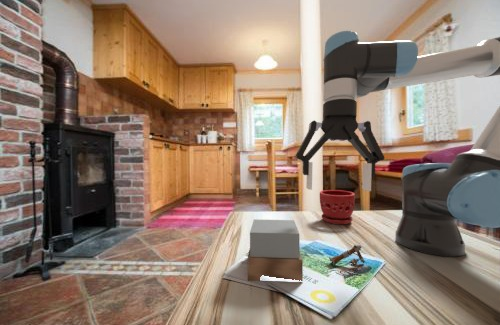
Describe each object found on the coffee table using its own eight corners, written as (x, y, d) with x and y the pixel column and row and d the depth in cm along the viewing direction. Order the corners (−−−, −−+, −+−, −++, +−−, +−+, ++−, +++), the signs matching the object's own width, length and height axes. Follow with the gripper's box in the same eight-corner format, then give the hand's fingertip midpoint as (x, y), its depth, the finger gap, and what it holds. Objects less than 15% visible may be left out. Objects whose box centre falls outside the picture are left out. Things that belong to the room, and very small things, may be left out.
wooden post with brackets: (369, 261, 49) (362, 244, 49) (339, 277, 49) (331, 259, 49) (365, 258, 51) (357, 241, 51) (335, 273, 50) (328, 256, 50)
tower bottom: (295, 259, 53) (295, 239, 53) (302, 284, 42) (302, 259, 42) (252, 257, 54) (251, 238, 54) (247, 282, 43) (247, 257, 43)
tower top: (294, 240, 52) (293, 220, 52) (299, 258, 42) (299, 233, 42) (253, 239, 53) (253, 219, 53) (250, 256, 43) (249, 232, 43)
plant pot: (313, 218, 89) (313, 190, 89) (339, 216, 93) (338, 189, 93) (334, 228, 77) (334, 195, 77) (362, 224, 81) (362, 193, 81)
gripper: (384, 106, 54) (382, 188, 54) (285, 105, 55) (284, 186, 56) (403, 97, 46) (401, 193, 47) (289, 97, 48) (287, 190, 48)
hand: (337, 189), depth 51 cm, fingers open, 13 cm apart
